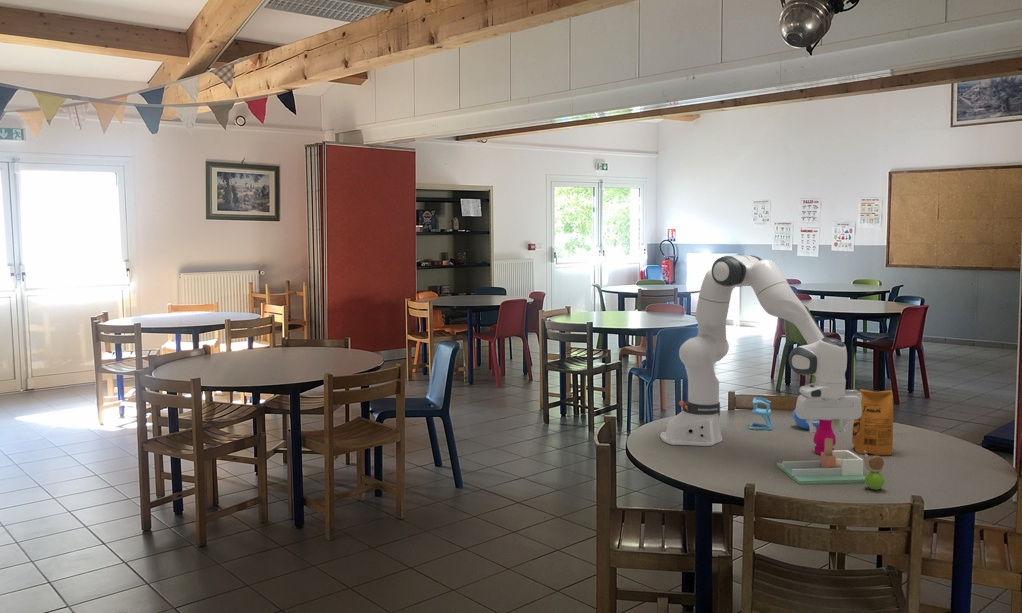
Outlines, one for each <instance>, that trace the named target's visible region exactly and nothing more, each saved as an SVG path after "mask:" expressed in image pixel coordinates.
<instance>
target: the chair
mask: <svg viewBox="0 0 1022 613" xmlns="http://www.w3.org/2000/svg"><path fill="white" fill-rule="evenodd" d="M771 403H772V401H771V400H768V399H767V398H764V397H756V396H755V397H753V399H752V408H753V409H752V410H751V414H752V415H753V414H754V415H758V416H760V417H762V418H763V419H764V422H765V423H766V424H763V423H758V422H751V423H750V424H749V427H748V430H750V429H753V431H754V430H756V429H758V430H759V431H772V430H773V422H772V419H771V416H770V414H771V412H772V408H770V406H771ZM759 404H760V405H763V406H765V408H759V407H758V405H759ZM755 425H756V426H755ZM758 430H757V431H758Z"/></svg>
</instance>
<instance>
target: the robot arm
mask: <svg viewBox="0 0 1022 613" xmlns="http://www.w3.org/2000/svg"><path fill="white" fill-rule="evenodd" d="M748 286H749V287H750V286H751V288H752V289H753V292H754V294H755V297H756V299H757V300H758V302H759V304H760V306H761V308H762V309H763V310H764V311H765V312H766V313H767V314H768V315H770V316H772V317H776V318H779V319H783V320H785V321H787V322H790V323H791V324H793V325H794V326H795V327H796V328H797V329H798V332H799V333H800V334H801V336H802V337H803V339H804V340H805V342H806V343H807V344H803V345H799V346H796V347H794V348H792V349H791V352H790V353H789V356H788V362H789V363H788V364H789V367H790V369H791V370H792V371H793V372H794V374H798V375H800V376H801V375H802V376H808V375H809V376H811V375H812V376H814V377H815V381H814V382H812V383H808V384H804V385H802V386H800V387H799V393H800V395H798V396H797V400H796V405H795V408H796V415H797V417H799V418H800V419H807V423H808V424H809V426H810V429H809V432H810V433H813V434H815V433H816V431H817V429H818V428H816V427H815V426H813V424H812V422H814V419H833V420H842V421H843V422H842V424H841V425H838V433H846V428H847V427H848V425H849V424H850V422H851V421H850V420H854V419H859V418H860V417H861V416H862V407H861V400H862V394H861V392H860V390H858V389H846V384H847V383H846V382H847V379H846V372H847V366H848V365H847V364H848V352H847V346H846V344H845V343H844V341H842V340H840V339H837V338H833V337H827V336H826V335H825V333H824V331H823V330H822V329H821V327H820V325H819V323H818V322H817V321H816V319H815V317H814V316H813V314H812V313H811V311H810V310H809V309H808V307H807V306H806V305H805V304H804V303H803V302H802V301H801V300H800V298H799V297H798V296H797V295H796V294H795V292H794V290H793V289H792V288H791V286H790V284H789V282H788V280H787V278H786V276H785V275H784V273H783V272H782V270H781V269H780V267H779V266H778V265H777V263H775V261H773V260H771V259H765V258H764V259H762V258H760V257H758V256H756V255H746V254H737V255H725V256H721V257H719V258H717V259H716V260H715V261H714V262H713V264H712V266H711V269H710V270H708V271H707V272H706V273H705V275H704V278H703V280H702V283H701V287H700V289H699V293H698V298H697V299H698V300H697V304H696V310H695V314H694V317H695V320H696V322H697V335H696V336H694V337H693V336H692V337H690V338H688V339H687V340H685V341H684V342H683V343H682V344H681V345H680V347H679V350H678V355H679V359H680V361H681V363H682V364H683V365H684V368H685V371H686V376H687V385H688V387H687V388H688V390H687V398H688V399H687V401H684V400H680V401H679V402H678V405H679V406H680V407H682V411H681V412H679V413H678V414H677V415H675V416H674V417H671V419H669V421H668V423H667V425H666V431H662V432H661V433H660V435H659V436H660V439H661V440H662V441H663V442H664V443H665V444H669V445H673V446H677V445H678V446H701V447H702V446H703V447H704V446H705V447H706V446H707V447H712V446H714V445H716V444H718V443H721V442H723V436H722V432H721V427H720V414H721V403H720V381H719V379H718V378H717V376H716V373H715V368H714V363H717V362H720V361H721V360H722V359H723V358H724V357H725V356H726V355H727V354H728V352H729V350H730V348H729V347H730V346H729V342H728V339H727V327H726V326H727V317H728V313H729V308H730V302H731V298H732V296H731V295H732V292H733V290H734V289H735V288H736V287H737V288H739V287H740V288H742V287H748Z"/></svg>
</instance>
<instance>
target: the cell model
mask: <svg viewBox="0 0 1022 613" xmlns="http://www.w3.org/2000/svg"><path fill="white" fill-rule="evenodd" d="M792 419H793V422H794V423H795V424H796V425H797V426H798V427H800V428H803V429H805V430H810V426H809V424H808V423H807V419H800V418H799V417H797V415H796V407H795V409H794V410H793V412H792ZM812 424H813V426H815V427H816V428H817V429H818V427H819V419H814V422H812Z"/></svg>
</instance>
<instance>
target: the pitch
mask: <svg viewBox="0 0 1022 613" xmlns="http://www.w3.org/2000/svg"><path fill="white" fill-rule="evenodd" d="M832 455H834V456H835V457H836V458H840V459H842V463H841V468H821V467H820V465H821V460H795V461H794V460H791V461H790V460H789V461H788V460H787V461H786V460H783V461H782V462H777V463H776V467H777V468H779V469H780V470H781V471H782V472H783V473H785V474H786V475H787V476H789V477H790V478H791V479H792V480H794V481H795V482H796V483H797V484H799V485H813V484H814V485H818V484H819V485H820V484H823V485H824V484H826V485H827V484H856V483H857V484H859V483H863V484H864V483H865V476H866V475H864V458H861V457H860V456H858V455H857V454H855V453H854V452H852V451H850V450H848V449H847V450H846V449H845V450H839V449H837V450H834V451H832ZM865 484H866V483H865Z"/></svg>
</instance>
